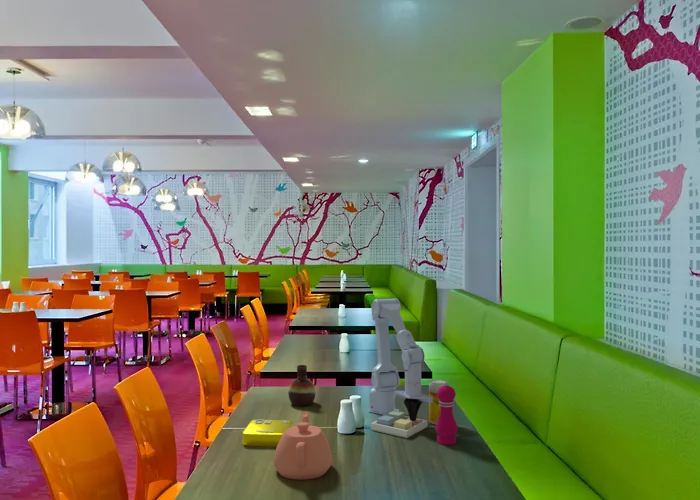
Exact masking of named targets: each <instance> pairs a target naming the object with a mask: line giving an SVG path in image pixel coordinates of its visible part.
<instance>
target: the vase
mask: <svg viewBox="0 0 700 500" xmlns="http://www.w3.org/2000/svg"><path fill="white" fill-rule="evenodd" d="M307 370H308V365H306V364H298V365H297V366H296V372H297V375H296V376H297V378H295V379H294V380H293V381H292V382H291V383H290V385H289V388H288V398H289V401H290V403H291V404H292V405H293V406H295V407H307V406H310V405H312V404H313V402H314V401H315V399H316V386H315V384H314V382H312V381H311V380H310V379H309V378H308V377H307V376H308V375H307V372H308V371H307Z"/></svg>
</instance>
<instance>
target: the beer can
mask: <svg viewBox="0 0 700 500" xmlns="http://www.w3.org/2000/svg"><path fill="white" fill-rule="evenodd" d="M444 382H445V381H444V380H442V379H441V380H440V379H433V380H430V381H429V384H428V396H432V397H433V402H432V403H428V415H429V416H428V422H430V424H432V425H434V426H436V422H437V420H438V418H439V416H440V405H439V400H440V399H439V398H438V396H437V391H438V389H439V388H440V387H441V386H444Z"/></svg>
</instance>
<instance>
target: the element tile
mask: <svg viewBox="0 0 700 500" xmlns="http://www.w3.org/2000/svg"><path fill="white" fill-rule="evenodd" d="M292 426H294V421H293V420H291V419H289V420H286V419H264V418H263V419H262V418H261V419H260V418H259V419H252V420H250V421H249V423H248V425H247V426H246V427H245V428H244V430H242V435H241V437H242V438H241V439H242V441H241V442H242V446H245V445H246V446H247V447H277V445H278V443H279V441H280V439H281V437H282V435H283V434H284V432H285V431H286V430H287V429H288V428H290V427H292ZM246 446H245V447H246Z"/></svg>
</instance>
